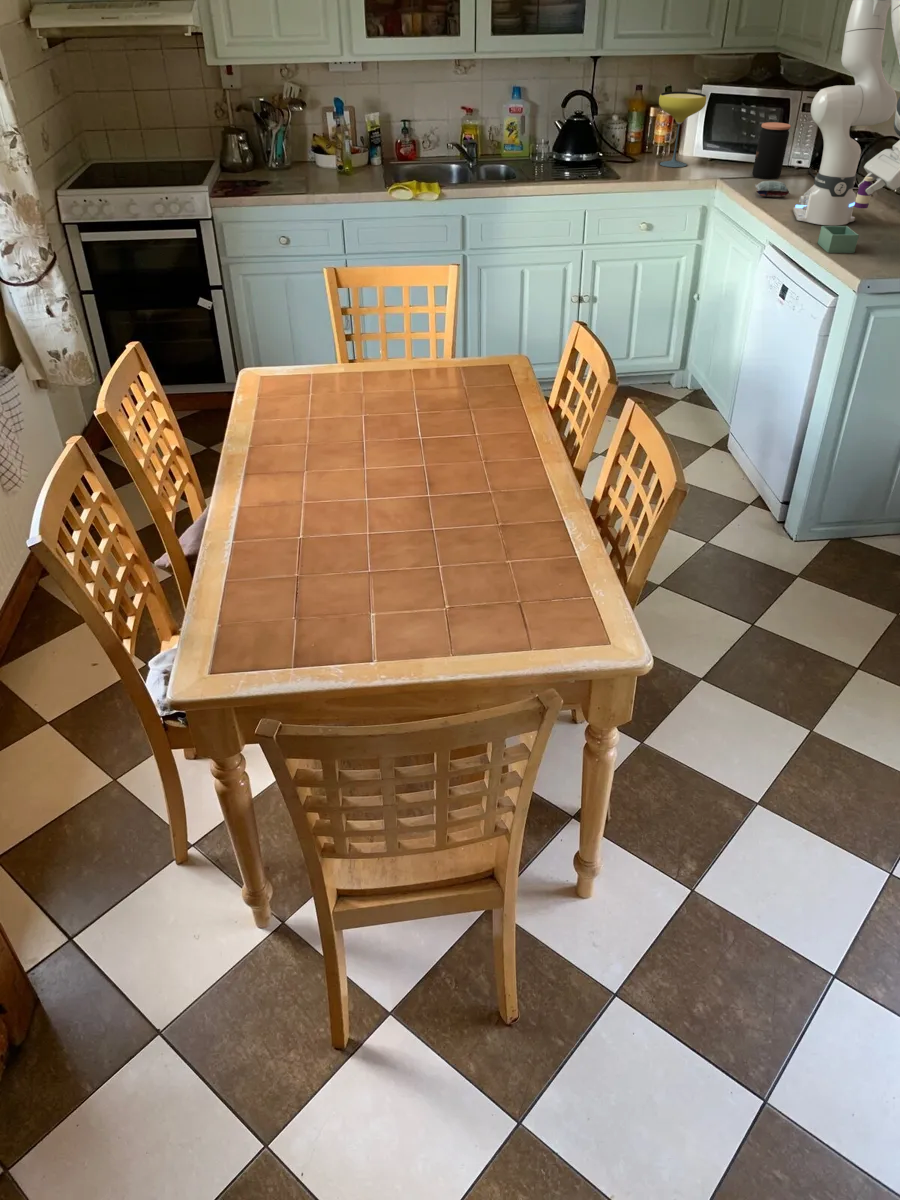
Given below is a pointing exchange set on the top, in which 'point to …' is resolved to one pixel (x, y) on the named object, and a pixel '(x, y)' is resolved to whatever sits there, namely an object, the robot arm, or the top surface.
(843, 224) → the robot arm
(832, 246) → the bin
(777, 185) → the packaged food
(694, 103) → the cocktail glass
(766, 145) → the coffee jar
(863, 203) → the grape juice bottle
